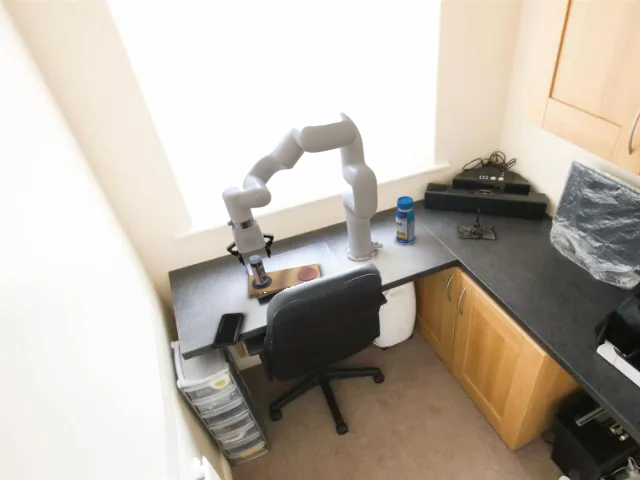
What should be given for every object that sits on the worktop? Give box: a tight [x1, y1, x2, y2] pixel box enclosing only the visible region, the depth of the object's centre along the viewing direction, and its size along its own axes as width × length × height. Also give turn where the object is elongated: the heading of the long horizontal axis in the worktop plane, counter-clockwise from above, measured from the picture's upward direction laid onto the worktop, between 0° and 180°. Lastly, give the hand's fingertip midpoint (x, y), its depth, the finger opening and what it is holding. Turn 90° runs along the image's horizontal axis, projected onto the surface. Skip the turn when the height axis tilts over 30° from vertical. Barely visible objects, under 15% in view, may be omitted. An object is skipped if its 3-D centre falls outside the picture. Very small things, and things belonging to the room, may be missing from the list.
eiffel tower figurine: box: [458, 208, 496, 240], centre depth 181 cm, size 15×10×13 cm
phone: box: [212, 312, 245, 348], centre depth 146 cm, size 8×1×15 cm
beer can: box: [248, 254, 268, 285], centre depth 159 cm, size 5×5×12 cm
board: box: [248, 263, 322, 298], centre depth 165 cm, size 28×12×2 cm, turn 103°
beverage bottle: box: [395, 195, 416, 245], centre depth 178 cm, size 8×8×20 cm
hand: (256, 259), depth 156 cm, fingers open, 9 cm apart
